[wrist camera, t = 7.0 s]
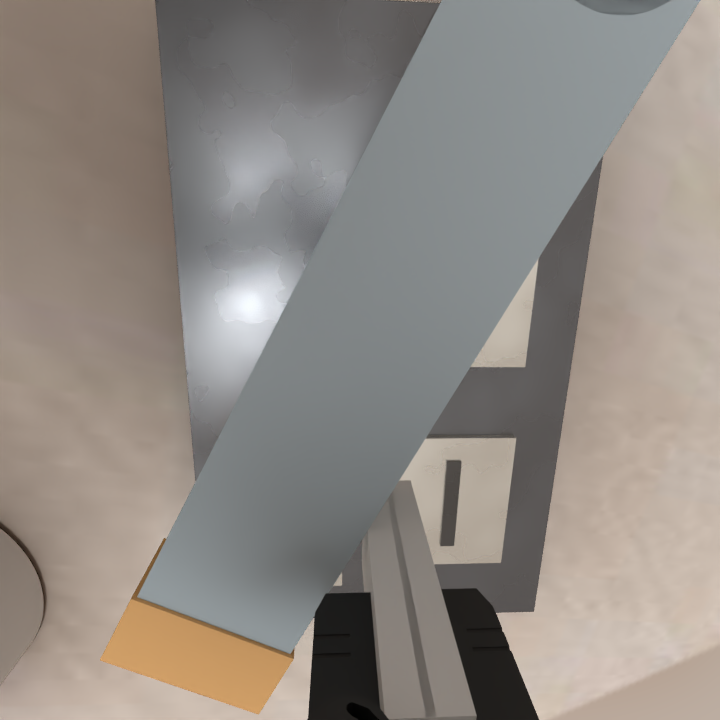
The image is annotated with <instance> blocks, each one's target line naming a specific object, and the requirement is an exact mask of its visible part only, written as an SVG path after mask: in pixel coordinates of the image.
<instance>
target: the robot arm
mask: <svg viewBox="0 0 720 720" xmlns="http://www.w3.org/2000/svg"><path fill="white" fill-rule="evenodd" d="M362 570H363V585H364V592H362V593H326V594H325V596H324V597H323V599H322V601H321V603H320V605H319V606H318V608H317V610H316V612H315V622H314V639H313V653H312V668H311V684H310V700H309V715H308V719H307V720H539V718H538V716H537V713H536V711H535V709H534V706H533V704H532V701H531V699H530V696H529V694H528V691H527V689H526V686H525V684H524V681H523V679H522V677H521V674H520V672H519V669H518V667H517V664H516V662H515V659H514V657H513V654H512V652H511V651H510V649H509V644H508V642H507V640H506V637H505V635H504V632H502V627H501V625H500V622H499V620H498V617H497V615H496V612H495V610H494V608H493V606H492V605H491V604H490V602H489V601H488V600H487V599H486V598H485V597H484V596H483V595H482V594H481V593H480V592H479V590H478V589H477V588H463V589H441V587H440V584H439V580H438V576H437V573H436V569H435V566H434V562H433V559H432V555H431V552H430V548H429V544H428V541H427V537H426V534H425V530H424V527H423V523H422V520H421V516H420V512H419V509H418V505H417V502H416V498H415V495H414V491H413V488H412V484H411V480H404V481H399V482H398V483H397V485H396V486H395V488H394V490H393V491H392V493H391V494H390V496H389V498H388V499H387V501H386V502H385V504H384V506H383V507H382V509H381V510H380V512H379V513H378V515H377V517H376V518H375V520H374V521H373V523H372V525H371V526H370V528H369V529H368V531H367V533H366V534H365V536H364V537H363V539H362Z"/></svg>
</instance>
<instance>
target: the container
mask: <svg viewBox="0 0 720 720" xmlns="http://www.w3.org/2000/svg"><path fill="white" fill-rule="evenodd" d="M43 609H44V600H43V592H42V587H41V584H40V580H39V578H38V575H37V573H36V571H35V569H34V567H33V565H32V563H31V562H30V560H29V558H28V557H27V555H26V554H25V553H24V551H23V550H22V549H21V548H20V547H19V546H18V544H17V543H16V542H15V541H14V540H13V539H12V538H11V537H10V536H9V535H7V534H6V533H5V532H4V531H3V530H2V529H0V685H1V684H2V682H3V681H4V680H5V678H6V677H7V676H8V674H9V673H10V671H11V670H12V669H13V667H14V666H15V665H16V663H17V662H18V661H19V659H20V658H21V656H22V655H23V654H24V652H25V651H26V650H27V648H28V647H29V646H30V644H31V643H32V641H33V640H34V638H35V636H36V634H37V632H38V630H39V628H40V625H41V621H42V617H43Z"/></svg>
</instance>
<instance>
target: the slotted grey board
mask: <svg viewBox="0 0 720 720" xmlns="http://www.w3.org/2000/svg"><path fill="white" fill-rule="evenodd" d="M155 3H156V15H157V27H158V39H159V50H160V62H161V74H162V86H163V98H164V110H165V122H166V134H167V146H168V158H169V170H170V182H171V194H172V206H173V218H174V230H175V242H176V254H177V266H178V278H179V290H180V302H181V314H182V326H183V338H184V350H185V362H186V373H187V385H188V397H189V409H190V421H191V433H192V445H193V457H194V469H195V481H196V480H197V478H198V476H199V474H200V473H201V471H202V469H203V467H204V465H205V463H206V461H207V459H208V457H209V455H210V453H211V451H212V449H213V447H214V445H215V443H216V441H217V439H218V437H219V435H220V433H221V431H222V429H223V428H224V426H225V424H226V422H227V420H228V418H229V416H230V414H231V412H232V410H233V408H234V406H235V404H236V402H237V400H238V398H239V396H240V394H241V392H242V390H243V388H244V386H245V384H246V382H247V381H248V379H249V377H250V375H251V373H252V371H253V369H254V367H255V365H256V363H257V361H258V359H259V357H260V355H261V353H262V351H263V349H264V347H265V345H266V343H267V341H268V339H269V337H270V336H271V334H272V332H273V330H274V328H275V326H276V324H277V322H278V320H279V318H280V316H281V314H282V312H283V310H284V308H285V306H286V304H287V302H288V300H289V298H290V296H291V294H292V292H293V290H294V289H295V287H296V285H297V283H298V281H299V279H300V277H301V275H302V273H303V271H304V269H305V267H306V265H307V263H308V261H309V259H310V257H311V255H312V253H313V251H314V249H315V247H316V245H317V244H318V242H319V240H320V238H321V236H322V234H323V232H324V230H325V228H326V226H327V224H328V222H329V220H330V218H331V216H332V214H333V212H334V210H335V208H336V206H337V204H338V202H339V200H340V198H341V197H342V195H343V193H344V191H345V189H346V187H347V185H348V183H349V181H350V179H351V177H352V175H353V173H354V171H355V169H356V167H357V165H358V163H359V161H360V159H361V157H362V155H363V153H364V152H365V150H366V148H367V146H368V144H369V142H370V140H371V138H372V136H373V134H374V132H375V130H376V128H377V126H378V124H379V122H380V120H381V118H382V116H383V114H384V112H385V110H386V108H387V106H388V105H389V103H390V101H391V99H392V97H393V95H394V93H395V91H396V89H397V87H398V85H399V83H400V81H401V79H402V77H403V75H404V73H405V71H406V69H407V67H408V65H409V63H410V61H411V60H412V58H413V56H414V54H415V52H416V50H417V48H418V46H419V44H420V42H421V40H422V37H423V36H424V34H425V32H426V30H427V28H428V26H429V24H430V21H431V20H432V18H433V16H434V14H435V13H436V11H437V9H438V7H439V4H440V3H425V2H407V1H389V0H155ZM431 16H432V17H431ZM426 27H427V28H426ZM602 159H603V156H602V158H601V160H600V161H599V163H598V164H597V166H596V167H595V169H594V171H593V172H592V174H591V175H590V177H589V179H588V180H587V182H586V183H585V185H584V187H583V188H582V190H581V191H580V193H579V195H578V196H577V198H576V199H575V201H574V203H573V204H572V206H571V207H570V209H569V211H568V212H567V214H566V215H565V217H564V219H563V220H562V222H561V223H560V225H559V226H558V228H557V230H556V231H555V233H554V234H553V236H552V238H551V239H550V241H549V242H548V244H547V246H546V247H545V249H544V250H543V252H542V254H541V255H540V257H539V258H538V260H537V262H536V263H535V265H534V266H533V268H532V270H531V271H530V273H529V274H528V276H527V278H526V279H525V281H524V282H523V284H522V285H521V287H520V289H519V290H518V292H517V293H516V295H515V297H514V298H513V300H512V301H511V303H510V305H509V306H508V308H507V309H506V311H505V313H504V314H503V316H502V317H501V319H500V321H499V322H498V324H497V325H496V327H495V329H494V330H493V332H492V333H491V335H490V337H489V338H488V340H487V341H486V343H485V344H484V346H483V348H482V349H481V351H480V352H479V354H478V356H477V357H476V359H475V360H474V362H473V364H472V365H471V367H470V368H469V370H468V372H467V373H466V375H465V376H464V378H463V380H462V381H461V383H460V384H459V386H458V388H457V389H456V391H455V392H454V394H453V395H452V397H451V399H450V400H449V402H448V403H447V405H446V407H445V408H444V410H443V411H442V413H441V415H440V416H439V418H438V419H437V421H436V423H435V424H434V426H433V427H432V429H431V431H430V432H429V434H428V435H427V437H426V439H425V440H424V442H423V443H422V445H421V447H420V448H419V450H418V451H417V453H416V454H415V456H414V458H413V459H412V461H411V462H410V464H409V466H408V467H407V469H406V470H405V472H404V474H403V475H402V477H401V478H400V480H399V481H404V480H411V484H412V488H413V491H414V495H415V498H416V502H417V505H418V509H419V512H420V516H421V520H422V523H423V527H424V530H425V534H426V537H427V541H428V544H429V548H430V552H431V555H432V559H433V562H434V566H435V569H436V573H437V576H438V580H439V584H440V587H441V589H463V588H477V589H478V590H479V592H480V593H481V594H482V595H483V596H484V597H485V598H486V599H487V600H488V601H489V602H490V604H491V605H492V606H493V608H494V610H495V612H496V613H501V612H534V607H535V600H536V594H537V587H538V581H539V574H540V567H541V561H542V554H543V548H544V541H545V535H546V528H547V521H548V515H549V508H550V502H551V495H552V488H553V482H554V475H555V469H556V462H557V455H558V449H559V442H560V436H561V429H562V422H563V416H564V409H565V403H566V396H567V390H568V383H569V376H570V370H571V363H572V357H573V350H574V343H575V337H576V330H577V324H578V317H579V310H580V304H581V297H582V291H583V284H584V277H585V271H586V264H587V258H588V251H589V244H590V238H591V231H592V225H593V218H594V212H595V205H596V198H597V192H598V185H599V179H600V172H601V165H602ZM362 592H364V585H363V570H362V541H361V542H360V544H359V545H358V547H357V549H356V550H355V552H354V553H353V555H352V557H351V558H350V560H349V561H348V563H347V565H346V566H345V568H344V569H343V571H342V572H341V574H340V576H339V577H338V579H337V580H336V582H335V584H334V585H333V587H332V588H331V590H330V592H329V593H362ZM313 618H315V616H314V617H313Z"/></svg>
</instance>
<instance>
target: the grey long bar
mask: <svg viewBox="0 0 720 720" xmlns="http://www.w3.org/2000/svg"><path fill="white" fill-rule="evenodd" d="M699 2H700V0H442V1H441V3H440V5H439V7H438V9H437V11H436V13H435V14H434V16H433V18H432V20H431V22H430V24H429V26H428V28H427V30H426V32H425V34H424V36H423V38H422V40H421V42H420V44H419V46H418V48H417V50H416V52H415V54H414V56H413V58H412V60H411V61H410V63H409V65H408V67H407V69H406V71H405V73H404V75H403V77H402V79H401V81H400V83H399V85H398V87H397V89H396V91H395V93H394V95H393V97H392V99H391V101H390V103H389V105H388V106H387V108H386V110H385V112H384V114H383V116H382V118H381V120H380V122H379V124H378V126H377V128H376V130H375V132H374V134H373V136H372V138H371V140H370V142H369V144H368V146H367V148H366V150H365V152H364V153H363V155H362V157H361V159H360V161H359V163H358V165H357V167H356V169H355V171H354V173H353V175H352V177H351V179H350V181H349V183H348V185H347V187H346V189H345V191H344V193H343V195H342V197H341V198H340V200H339V202H338V204H337V206H336V208H335V210H334V212H333V214H332V216H331V218H330V220H329V222H328V224H327V226H326V228H325V230H324V232H323V234H322V236H321V238H320V240H319V242H318V244H317V245H316V247H315V249H314V251H313V253H312V255H311V257H310V259H309V261H308V263H307V265H306V267H305V269H304V271H303V273H302V275H301V277H300V279H299V281H298V283H297V285H296V287H295V289H294V290H293V292H292V294H291V296H290V298H289V300H288V302H287V304H286V306H285V308H284V310H283V312H282V314H281V316H280V318H279V320H278V322H277V324H276V326H275V328H274V330H273V332H272V334H271V336H270V337H269V339H268V341H267V343H266V345H265V347H264V349H263V351H262V353H261V355H260V357H259V359H258V361H257V363H256V365H255V367H254V369H253V371H252V373H251V375H250V377H249V379H248V381H247V382H246V384H245V386H244V388H243V390H242V392H241V394H240V396H239V398H238V400H237V402H236V404H235V406H234V408H233V410H232V412H231V414H230V416H229V418H228V420H227V422H226V424H225V426H224V428H223V429H222V431H221V433H220V435H219V437H218V439H217V441H216V443H215V445H214V447H213V449H212V451H211V453H210V455H209V457H208V459H207V461H206V463H205V465H204V467H203V469H202V471H201V473H200V474H199V476H198V478H197V480H196V482H195V484H194V486H193V488H192V490H191V492H190V494H189V496H188V498H187V500H186V502H185V504H184V506H183V508H182V510H181V512H180V514H179V516H178V518H177V520H176V521H175V523H174V525H173V527H172V529H171V531H170V533H169V535H168V537H167V539H165V538H164V539H163V541H162V543H161V545H160V547H159V549H158V550H157V552H156V554H155V556H154V558H153V560H152V561H151V563H150V565H149V567H148V569H147V571H146V572H145V574H144V576H143V578H142V580H141V581H140V583H139V585H138V587H137V589H136V591H135V592H134V594H133V596H132V598H131V600H130V602H129V604H128V606H127V608H126V610H125V612H124V614H123V616H122V618H121V619H120V621H119V623H118V625H117V627H116V629H115V631H114V633H113V635H112V637H111V639H110V641H109V643H108V645H107V647H106V649H105V651H104V653H103V655H102V657H101V659H100V661H103V662H106V663H109V664H112V665H115V666H118V667H121V668H124V669H127V670H130V671H133V672H136V673H138V674H141V675H144V676H147V677H150V678H153V679H156V680H159V681H162V682H165V683H168V684H171V685H174V686H177V687H180V688H182V689H185V690H188V691H191V692H194V693H197V694H200V695H203V696H206V697H209V698H212V699H215V700H218V701H221V702H224V703H226V704H229V705H232V706H235V707H238V708H241V709H244V710H247V711H250V712H253V713H256V714H259V713H260V711H261V710H262V708H263V707H264V705H265V703H266V702H267V700H268V699H269V697H270V696H271V694H272V692H273V691H274V689H275V688H276V686H277V684H278V683H279V681H280V680H281V678H282V677H283V675H284V673H285V672H286V670H287V669H288V667H289V665H290V664H291V662H292V661H293V659H294V648H295V646H296V644H297V643H298V641H299V639H300V638H301V636H302V635H303V633H304V631H305V630H306V628H307V627H308V625H309V624H310V622H311V620H312V619H313V617H314V616H315V612H316V610H317V608H318V606H319V605H320V603H321V601H322V599H323V597H324V596H325V594H326V593H329V592H330V590H331V588H332V587H333V585H334V584H335V582H336V580H337V579H338V577H339V576H340V574H341V572H342V571H343V569H344V568H345V566H346V565H347V563H348V561H349V560H350V558H351V557H352V555H353V553H354V552H355V550H356V549H357V547H358V545H359V544H360V542H361V541H362V539H363V537H364V536H365V534H366V533H367V531H368V529H369V528H370V526H371V525H372V523H373V521H374V520H375V518H376V517H377V515H378V513H379V512H380V510H381V509H382V507H383V506H384V504H385V502H386V501H387V499H388V498H389V496H390V494H391V493H392V491H393V490H394V488H395V486H396V485H397V483H398V482H399V480H400V478H401V477H402V475H403V474H404V472H405V470H406V469H407V467H408V466H409V464H410V462H411V461H412V459H413V458H414V456H415V454H416V453H417V451H418V450H419V448H420V447H421V445H422V443H423V442H424V440H425V439H426V437H427V435H428V434H429V432H430V431H431V429H432V427H433V426H434V424H435V423H436V421H437V419H438V418H439V416H440V415H441V413H442V411H443V410H444V408H445V407H446V405H447V403H448V402H449V400H450V399H451V397H452V395H453V394H454V392H455V391H456V389H457V388H458V386H459V384H460V383H461V381H462V380H463V378H464V376H465V375H466V373H467V372H468V370H469V368H470V367H471V365H472V364H473V362H474V360H475V359H476V357H477V356H478V354H479V352H480V351H481V349H482V348H483V346H484V344H485V343H486V341H487V340H488V338H489V337H490V335H491V333H492V332H493V330H494V329H495V327H496V325H497V324H498V322H499V321H500V319H501V317H502V316H503V314H504V313H505V311H506V309H507V308H508V306H509V305H510V303H511V301H512V300H513V298H514V297H515V295H516V293H517V292H518V290H519V289H520V287H521V285H522V284H523V282H524V281H525V279H526V278H527V276H528V274H529V273H530V271H531V270H532V268H533V266H534V265H535V263H536V262H537V260H538V258H539V257H540V255H541V254H542V252H543V250H544V249H545V247H546V246H547V244H548V242H549V241H550V239H551V238H552V236H553V234H554V233H555V231H556V230H557V228H558V226H559V225H560V223H561V222H562V220H563V219H564V217H565V215H566V214H567V212H568V211H569V209H570V207H571V206H572V204H573V203H574V201H575V199H576V198H577V196H578V195H579V193H580V191H581V190H582V188H583V187H584V185H585V183H586V182H587V180H588V179H589V177H590V175H591V174H592V172H593V171H594V169H595V167H596V166H597V164H598V163H599V161H600V160H601V158H602V156H603V155H604V153H605V152H606V150H607V148H608V147H609V145H610V144H611V142H612V140H613V139H614V137H615V136H616V134H617V132H618V131H619V129H620V128H621V126H622V124H623V123H624V121H625V120H626V118H627V116H628V115H629V113H630V112H631V110H632V108H633V107H634V105H635V104H636V102H637V101H638V99H639V97H640V96H641V94H642V93H643V91H644V89H645V88H646V86H647V85H648V83H649V81H650V80H651V78H652V77H653V75H654V73H655V72H656V70H657V69H658V67H659V65H660V64H661V62H662V61H663V59H664V57H665V56H666V54H667V53H668V51H669V49H670V48H671V46H672V45H673V43H674V42H675V40H676V38H677V37H678V35H679V34H680V32H681V30H682V29H683V27H684V26H685V24H686V22H687V21H688V19H689V18H690V16H691V14H692V13H693V11H694V10H695V8H696V6H697V5H698V3H699Z"/></svg>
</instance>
